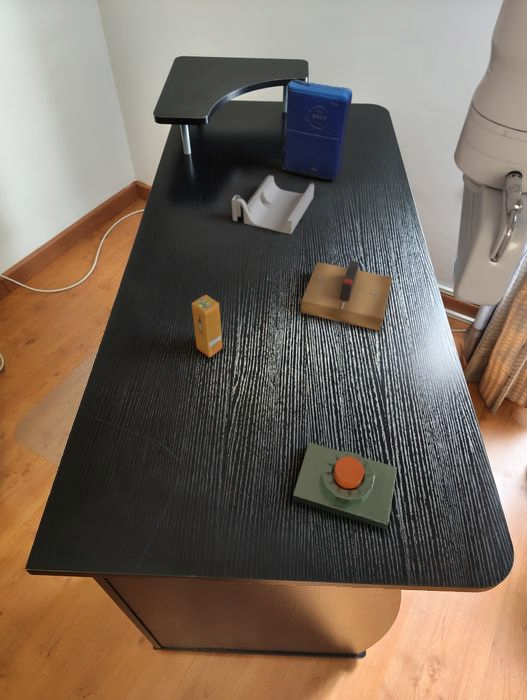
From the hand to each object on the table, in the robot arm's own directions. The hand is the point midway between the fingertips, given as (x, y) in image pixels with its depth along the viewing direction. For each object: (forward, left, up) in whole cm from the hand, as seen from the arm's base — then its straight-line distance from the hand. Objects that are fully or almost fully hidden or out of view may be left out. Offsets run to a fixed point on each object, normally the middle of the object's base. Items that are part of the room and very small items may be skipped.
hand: (461, 276), depth 49 cm
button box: (+6, +13, -27) cm, 31 cm away
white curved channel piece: (+34, -46, -27) cm, 63 cm away
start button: (+6, +13, -24) cm, 28 cm away
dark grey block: (+13, -22, -24) cm, 35 cm away
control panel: (+13, -22, -27) cm, 37 cm away
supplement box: (+32, -4, -27) cm, 42 cm away
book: (+30, -63, -27) cm, 75 cm away
